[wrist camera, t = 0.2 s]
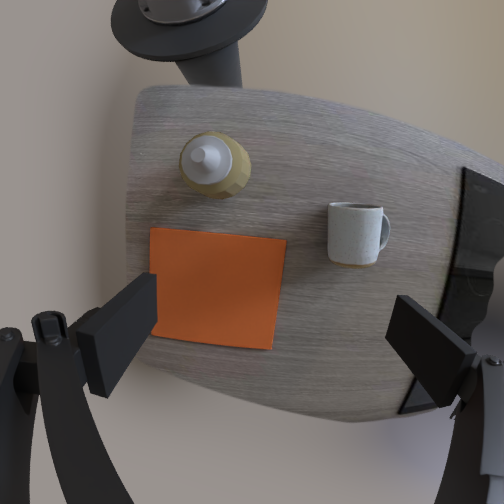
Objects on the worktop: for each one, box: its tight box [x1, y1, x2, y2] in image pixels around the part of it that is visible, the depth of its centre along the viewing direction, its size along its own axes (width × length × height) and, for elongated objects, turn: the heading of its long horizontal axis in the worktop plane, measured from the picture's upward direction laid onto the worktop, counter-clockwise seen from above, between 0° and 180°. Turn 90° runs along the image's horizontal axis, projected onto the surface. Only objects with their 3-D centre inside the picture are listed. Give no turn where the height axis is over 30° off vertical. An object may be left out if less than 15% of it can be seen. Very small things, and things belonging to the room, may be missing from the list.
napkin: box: [150, 227, 287, 349], centre depth 42 cm, size 18×20×1 cm
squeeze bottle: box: [179, 132, 251, 199], centre depth 29 cm, size 8×8×18 cm
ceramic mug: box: [327, 202, 390, 269], centre depth 36 cm, size 11×8×8 cm
